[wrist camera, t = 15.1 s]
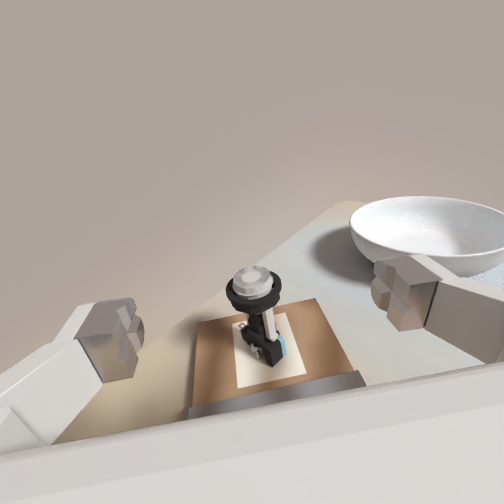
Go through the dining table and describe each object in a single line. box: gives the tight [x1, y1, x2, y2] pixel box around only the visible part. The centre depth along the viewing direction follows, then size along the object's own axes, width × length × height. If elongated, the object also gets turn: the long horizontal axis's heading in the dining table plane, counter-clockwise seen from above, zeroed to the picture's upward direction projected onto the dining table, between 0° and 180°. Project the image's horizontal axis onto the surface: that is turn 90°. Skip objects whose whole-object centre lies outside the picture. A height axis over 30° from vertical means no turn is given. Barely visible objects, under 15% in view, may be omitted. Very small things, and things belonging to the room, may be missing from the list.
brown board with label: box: [188, 298, 366, 420], centre depth 29 cm, size 16×14×2 cm
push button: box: [226, 266, 286, 367], centre depth 28 cm, size 7×5×10 cm
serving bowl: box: [349, 196, 504, 278], centre depth 41 cm, size 21×21×7 cm
